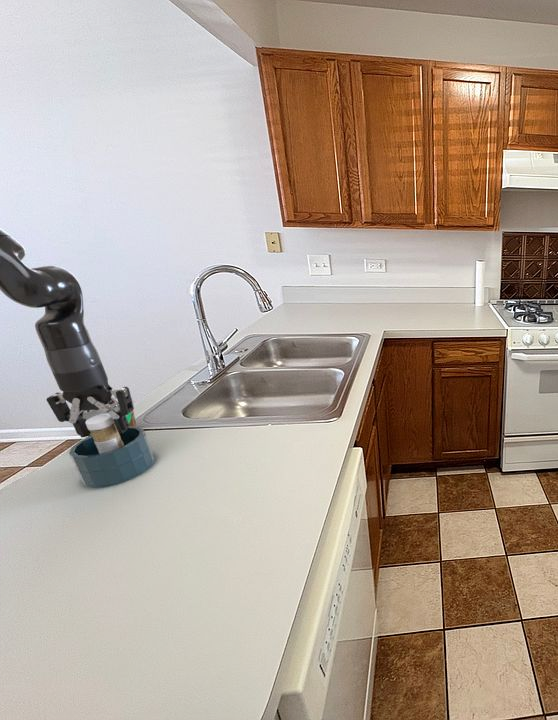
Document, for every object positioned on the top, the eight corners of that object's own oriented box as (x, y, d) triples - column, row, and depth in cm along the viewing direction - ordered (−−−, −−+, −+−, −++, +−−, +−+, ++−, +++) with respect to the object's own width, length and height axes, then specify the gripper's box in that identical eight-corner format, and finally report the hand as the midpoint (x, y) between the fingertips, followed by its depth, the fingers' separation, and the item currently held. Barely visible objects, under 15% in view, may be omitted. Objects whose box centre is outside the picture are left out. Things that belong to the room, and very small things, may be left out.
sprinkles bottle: (136, 460, 95) (116, 411, 90) (125, 472, 91) (104, 421, 86) (113, 463, 94) (92, 414, 89) (101, 475, 90) (79, 424, 85)
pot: (68, 492, 85) (53, 461, 82) (105, 457, 97) (93, 429, 94) (136, 483, 88) (124, 453, 85) (164, 451, 99) (154, 423, 96)
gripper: (127, 355, 87) (150, 421, 94) (49, 361, 84) (78, 428, 91) (105, 368, 81) (132, 438, 87) (19, 375, 78) (54, 447, 84)
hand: (105, 433), depth 89 cm, fingers open, 6 cm apart
